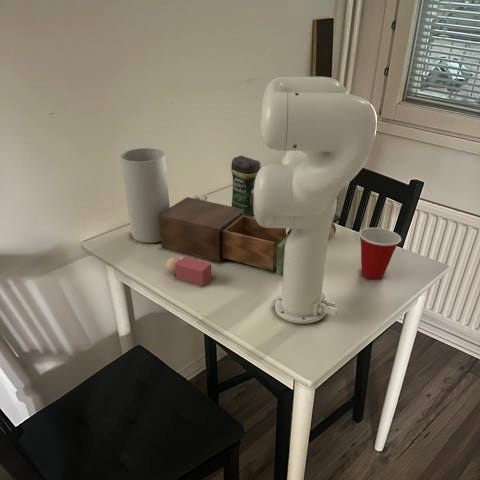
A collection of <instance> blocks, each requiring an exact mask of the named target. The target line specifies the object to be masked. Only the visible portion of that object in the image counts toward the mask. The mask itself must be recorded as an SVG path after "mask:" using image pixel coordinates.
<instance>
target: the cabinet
mask: <svg viewBox="0 0 480 480" xmlns="http://www.w3.org/2000/svg"><path fill="white" fill-rule="evenodd" d="M241 215H244V209H240V208H236V207H232V205H231V206H230V205H227V204H221V203H216V202H212V201H208V200H206V201H203V200H199V199H196V198H195V197H189V196H187V197H184V198H183V199H181V200H180V201H179V202H177V203H175V204H174V205H172V206H170V208H169V209H167V210H165V211H164V212H162V213H161V214H159V220H160V230H161V239H162V241H161V248H162V249H164V250H168V251H172V252H175V253H179V254H182V255H186V256H189V257H192V258H198V259H201V260H204V261H209V262H212V263H216V264H221V263H222V262H223V261H224V260H226V258H222V239H221V231H222V230H223V229H224V228H226V227H227V226H228V225H230V224H231V223H232V222H233V221H235V220H236V219H237V218H238V217H240V216H241Z"/></svg>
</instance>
